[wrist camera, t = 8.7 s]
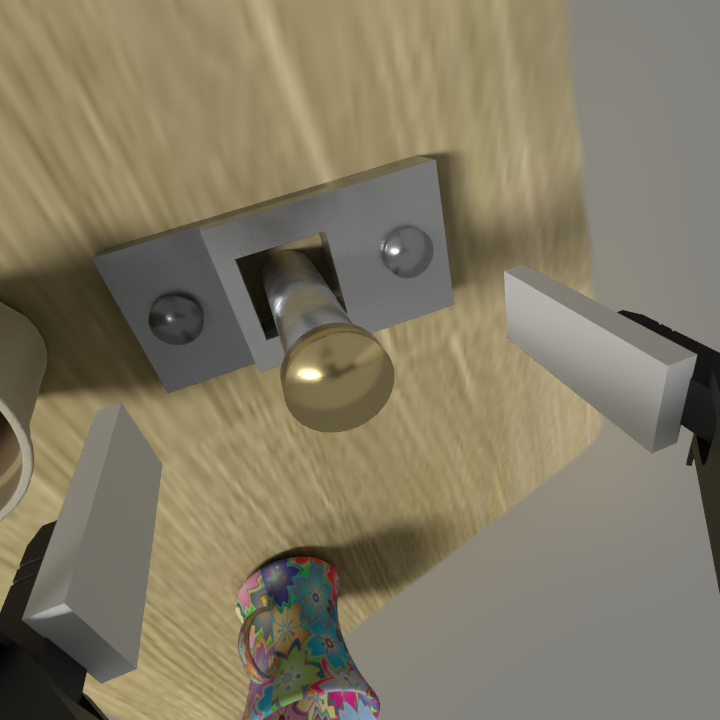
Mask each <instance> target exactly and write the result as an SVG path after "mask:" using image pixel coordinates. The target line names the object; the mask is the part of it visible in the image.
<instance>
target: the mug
mask: <svg viewBox="0 0 720 720" xmlns="http://www.w3.org/2000/svg"><path fill="white" fill-rule="evenodd" d="M339 589H340V580H339V576H338V574H337V572H336V570H335V569H334V568H333V567H332V566H331V565H330V564H328V563H326V562H325V561H323V560H320V559H317V558H312V557H292V558H286V559H282V560H279V561H276V562H273V563H271V564H268V565H266V566H264V567H263V568H261V569H259V570H258V571H256V572H255V573H254V574H252V575H251V576H250V577H249V578H248V579H247V580H246V581H245V582H244V584H243V585H242V586H241V588H240V589H239V591H238V593H237V596H236V601H235V610H236V613H237V615H238V617H239V619H240V620H241V622H242V623H243V625H242V627H241V630H240V633H239V638H238V653H239V658H240V661H241V664H242V667H243V669H244V671H245V672H246V674H247V675H248V676H249V678H250V684H249V691H248V697H247V702H246V707H245V712H244V716H243V720H377V717H378V715H379V711H380V703H379V699H378V697H377V695H376V693H375V692H374V691H373V689H372V688H371V687H370V686H369V684H368V683H367V682H366V681H365V679H364V678H363V676H362V675H361V673H360V672H359V670H358V669H357V667H356V665H355V663H354V661H353V660H352V658H351V656H350V654H349V652H348V649H347V647H346V644H345V642H344V639H343V636H342V633H341V629H340V625H339V620H338V612H337V599H338V593H339Z"/></svg>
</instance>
